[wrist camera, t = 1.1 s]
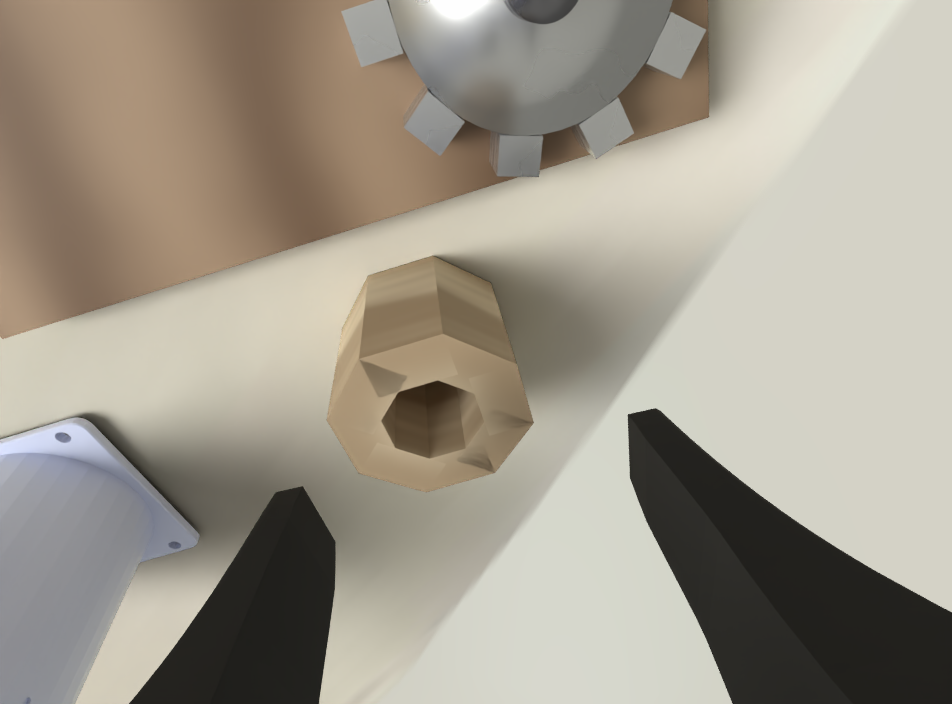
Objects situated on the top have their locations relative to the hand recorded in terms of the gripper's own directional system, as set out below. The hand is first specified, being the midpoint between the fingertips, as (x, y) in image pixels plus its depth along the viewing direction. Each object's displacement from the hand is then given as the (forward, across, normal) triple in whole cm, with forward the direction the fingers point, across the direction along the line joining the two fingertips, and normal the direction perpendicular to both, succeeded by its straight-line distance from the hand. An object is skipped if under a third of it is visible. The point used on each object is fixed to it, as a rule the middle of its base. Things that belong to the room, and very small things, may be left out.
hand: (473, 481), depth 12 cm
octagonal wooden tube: (+9, +1, +1) cm, 9 cm away
